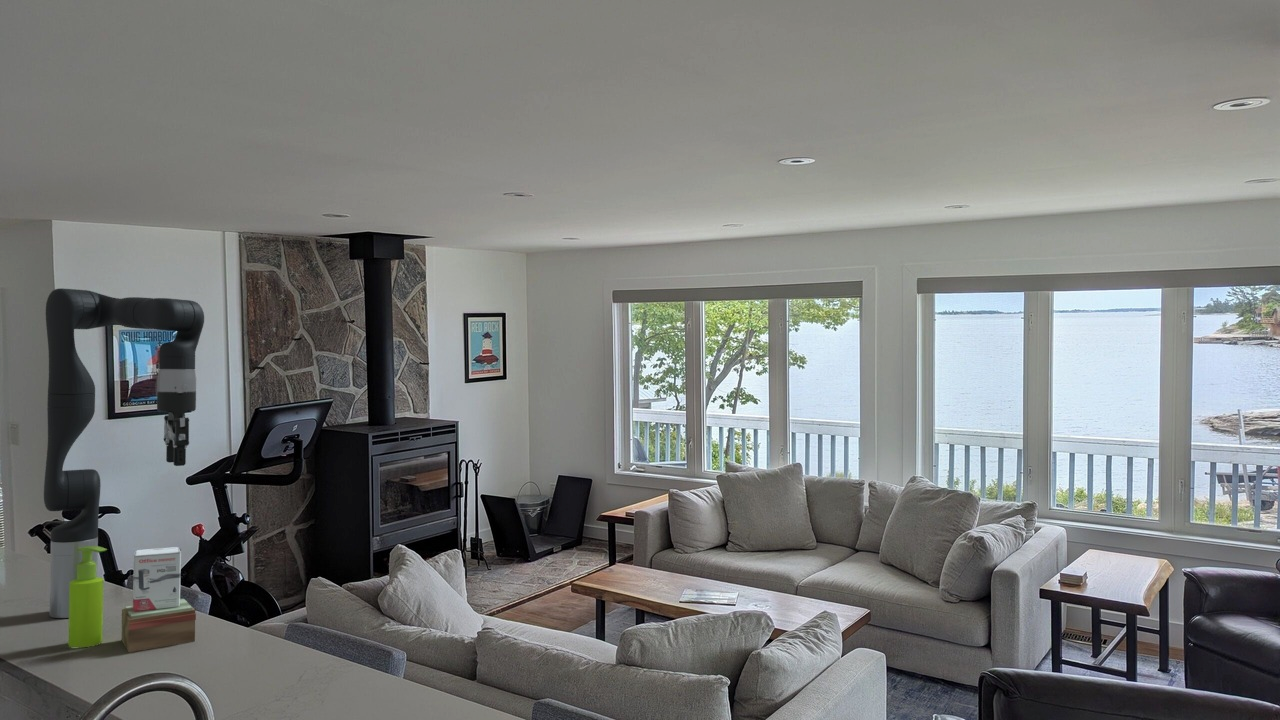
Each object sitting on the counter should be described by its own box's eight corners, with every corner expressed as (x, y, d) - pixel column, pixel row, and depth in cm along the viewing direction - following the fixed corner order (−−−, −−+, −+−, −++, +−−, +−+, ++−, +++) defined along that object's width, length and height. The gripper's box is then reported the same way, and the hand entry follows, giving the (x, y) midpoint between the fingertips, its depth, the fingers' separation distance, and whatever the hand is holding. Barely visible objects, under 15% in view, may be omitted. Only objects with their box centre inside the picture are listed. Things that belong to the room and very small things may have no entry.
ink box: (132, 612, 175) (133, 554, 176) (132, 607, 180) (133, 549, 180) (180, 607, 180) (181, 550, 180) (179, 601, 184) (180, 546, 184)
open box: (121, 640, 180) (122, 606, 180) (185, 629, 187) (185, 597, 188) (129, 653, 172) (129, 617, 172) (195, 641, 179) (195, 608, 179)
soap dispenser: (90, 649, 174) (91, 550, 174) (61, 647, 175) (63, 548, 175) (113, 641, 179) (114, 545, 180) (85, 638, 181) (86, 543, 181)
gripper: (151, 389, 192) (150, 462, 192) (163, 390, 181) (162, 467, 181) (189, 389, 197) (188, 460, 196) (202, 390, 185) (201, 465, 185)
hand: (175, 463), depth 188 cm, fingers open, 8 cm apart
